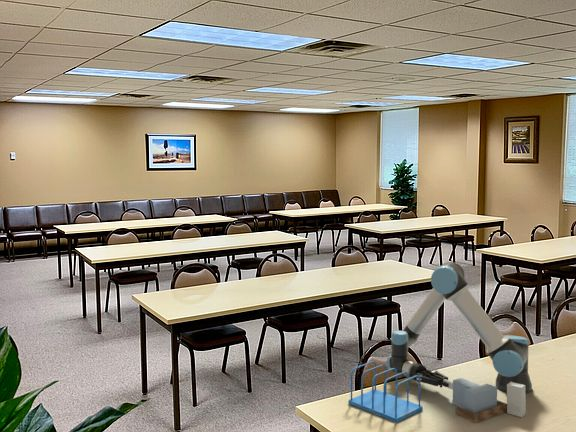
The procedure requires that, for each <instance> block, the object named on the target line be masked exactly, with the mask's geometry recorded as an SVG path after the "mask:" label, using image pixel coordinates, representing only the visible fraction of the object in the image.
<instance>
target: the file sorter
mask: <svg viewBox="0 0 576 432" xmlns="http://www.w3.org/2000/svg"><path fill="white" fill-rule="evenodd" d="M370 364H374V367H372V368H369V369H367V370H365V371H363V373H362V374H361V379H360V391H361V392H360V394H359V395H357V396H355V397H353V373H354V371H355V370H357V369H359V368H362V367H364V366H367V365H370ZM381 367H384V371H381V372H379V373H377V369H379V368H381ZM372 370H374V376H373V377H372V381H371V390H368V391H367V392H364V391H363V390H364V388H363V387H364V386H363V385H364V376H365V374H367V373H368V372H370V371H372ZM391 370H395V371H396V373H395V375H392V376H390V377H387V376H388V372H392V371H391ZM404 373H406V374H407V377H406V379H404V380H402V381H400V382H398V376H402V375H401V374H404ZM383 374H384V375H385V377H384V382H383V390H378V389H377V377H379V376H381V375H383ZM415 377H418V378H419V382H418V404H417V403H415V402H414V401H413V402H412V401H409V397H410V396H409V394H410V392H409V390H410V386H409V385H410V383H409V382H410V381H411V380H413V378H415ZM393 378H394V379H395V389H394V395H393V394H390V393H388V391H387V387H388V386H387V382H388V381H389V380H391V379H393ZM403 383H406V399H404V398H401V397H399V396H398V388H399V386H400V385H401V384H403ZM347 402H348V404H349V405H352V406H353V407H356V408H358V409H361V410H364V411H367V412H369V413H372V414H373V415H376V416H379V417H382V418H384V419H387V420H389V421H392V422H394V423H399V422H401V421H403V420H405V419H407V418H408V417H410V416H413V415H414V414H417V413H419V412H421V411H423V409H424V408H423V405H421V382H420V377H419V376H418V375H416V376H413V377H411V378H409V375H408V373H407V372H402V373H399V374H398V373H397V370H396V369H395V368H392V369H388V368H387V365H386V364H379V365H377V364H376V362H375V361H369V362H367V363H366V362H365V363H363V364H361V365H360V364H359V365H358V366H355V367H353V368H352V370H351V372H350V398H349V399H348V401H347Z"/></svg>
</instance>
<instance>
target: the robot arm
mask: <svg viewBox="0 0 576 432" xmlns="http://www.w3.org/2000/svg"><path fill="white" fill-rule="evenodd" d="M465 276H466V275H465V270H464V269H463V267H462V266H461V265H460V264H458V263H457V262H453V261H448V262H446V263H443V264H442V265H439V266H438V267H436V268H435V269H434V271H432V274H431V277H430V283H431V284H430V285H431V286H432V289H431V290H430V291H429V293H428V294H427V296H426V297H425V299H424V300H423V301H422V303H421V304H420V305H419V307H418V309H417V310H416V311H415V313H414V315H413V316H412V317H411V319H410V320H409V321H408V323H407V324H406V326H405V327H404V328H403V329H402V330H394V331H392V333H391V338H390V341H391V345H390V346H391V350H390V351H391V354H390V355H389V356H388V357H387V359H386V361H385V366H386V369H387V370H389V369H392V368H395V369H396V370H397V374H399V373H402V372H407V373H408V375H409V378H411V377H413V376H416V375H418V376H419V377H420V383H422V384H423V383H424V384H427V385H430V386H434V387H439V388H440V389H441V388H443V387H445V388H447V389H449V390H452V391H453V380H452V381H451V380H449V377H448V376H446V375H445V374H443V373H441V372H439V371H438V370H434V371H431V370H429V369H427V368H426V366H425V365H424V364H420V363H418V362H415V361H412V360H410V359H409V358H408V356H409V348H410V347H411V346H412V345H413V344H415V343H416V342H417V341H418V339H419V336H420V335H421V334H422V332H423V331H424V329H425V328H426V327H427V326H428V324H429V323H430V322H431V319H433V317H434V316H435V314H436V313H437V312H438V310H439V309H440V307H441V306H442V305H443V303H444V302H445V301H449V302H452V303H453V305H454V306H455V307H456V308H457V310H458V311H459V312H460V314H461V315H462V317H463V318H464V319H465V320H466V322H467V323H468V325H469V326H470V327H471V328H472V330H473V331H474V332H475V334H476V335H477V336H478V338H479V339H480V340H481V341H482V343H483V344H484V346H485V347H486V354H487V355H488V357H489V358H490V360H492V366H493V369H494V370H495V371H496V373H497V376H496V378H495V387H497V390H498V389H499V390H500V391H503V392H506V393H507V384H508V383H510V382H514V383H518V384H523V385H525V392H526V393H525V394H527V393H530V392H532V390H533V383H532V381H531V378H530V374H529V346H530V343H529V339H528V338H526V337H524V336H519V335H507V334H505V335H503V333H502V331H500V329H499V328H498V326H497V325H496V324H495V323H494V321H493V320H492V319H491V316H489V315H488V313H487V312H486V311H485V309H483V306H481V305H480V303H479V302H478V301H477V300H476V298H475V297H474V296H473V294H472V293H471V292H470V290H469V283H468V282H467V281H466V279H465ZM390 372H393V373H395V374H396V371H395V370H391V371H390ZM400 376H403V377H406V378H407V374H406V373H404V374H401V375H400ZM412 380H413V381H416V382H417V383H419V378H418V377H415V378H413V379H412Z"/></svg>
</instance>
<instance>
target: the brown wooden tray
mask: <svg viewBox="0 0 576 432" xmlns="http://www.w3.org/2000/svg"><path fill="white" fill-rule="evenodd" d="M504 413H507V402H504V401H500V400H498V399H497V407H494V408H491V409H488V410H486V411H483V412H480V413H477V414H475V413H473V412H470V411H468V410H466V409H463V408H461V407H459V406H457V405H456V406H455V415H456V416H460V417H461V418H464V419H466V420H468V421H470V422H471V421H472V422H474V423H475V424H478V423H480V422H484V421H485V420H488V419H491V418H493V417H496V416H499V415H502V414H504Z"/></svg>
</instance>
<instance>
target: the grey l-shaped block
mask: <svg viewBox="0 0 576 432" xmlns="http://www.w3.org/2000/svg"><path fill="white" fill-rule="evenodd" d="M452 382H453V390H452V404H453V405H455V406H456V407H457V406H458V407H461V408H463V409H466V410H468V411H470V412H473V413H475V414H477V413H480V412H483V411H486V410H488V409H491V408H494V407H497V400H498V388H497V387H496V385H495V386H494V385H492V384H489V383H485V384H478V383H475V382H473V381H470V380H468V379H465V378H463V377H461V378H456V379H452Z"/></svg>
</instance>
